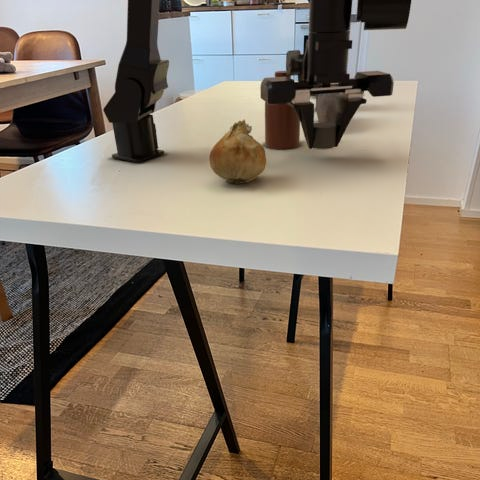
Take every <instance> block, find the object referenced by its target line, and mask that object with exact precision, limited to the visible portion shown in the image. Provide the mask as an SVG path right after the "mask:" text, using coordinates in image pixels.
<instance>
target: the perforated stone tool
mask: <svg viewBox="0 0 480 480" xmlns="http://www.w3.org/2000/svg"><path fill="white" fill-rule="evenodd" d="M330 84H332V83H330ZM335 95H340V93H328V94H319V95H318V98H317V103H316V102H315V108H316V110H315V111H316V115H317V116H316V117H317V120H318V123H322V122H327V123H334V124H335V116H336V98H335Z"/></svg>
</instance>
